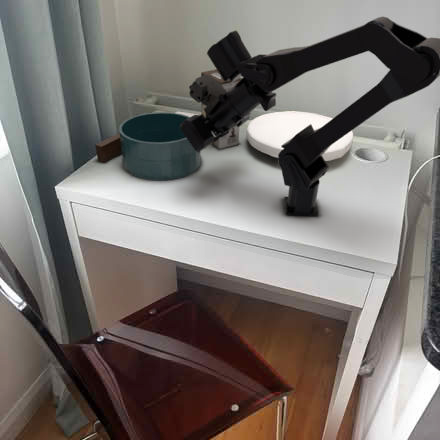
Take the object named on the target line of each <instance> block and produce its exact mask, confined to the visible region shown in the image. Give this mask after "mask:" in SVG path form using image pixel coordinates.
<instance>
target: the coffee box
mask: <svg viewBox="0 0 440 440" xmlns="http://www.w3.org/2000/svg"><path fill="white" fill-rule="evenodd" d="M206 74H207V75H210V76H211V77H212V78H214V79H215V80H216V81H217V82H218V83H219V84H221V85H222V86H223V88H224V89H225V90H226V91H228V90H230V89H231V88H232V87H234V86H235V85H236V84H237V83H238V82H239V81H240V80H241V79H242V78H243V77H240V78H239V79H237V80H236V81H234V82H231V81H230V79H229V80H228V81H226V82H225V81H224V80H223V79H222V77H221V75H220V74H219V72H218V71H217V69H216V68H215V69H211V70H206V71H201V73H200V77H201V76H203V75H206ZM200 103H201V102H200ZM205 107H207V106H205V105H204V104H202V103H201V108H200V109H201V111H200V112H201V113H200V115H201V114H203V116H204V117H206V112H205V111H204V108H205ZM237 124H238V123H237ZM239 142H240V126H239V127H237V126H235V127H234V128H232V129H231V130H229V133H228V134H226V135H225V136H223V137H221V138H219V139H218V140H217V141H215V142H214V143H212V144H211V145H212V146H214V147H216V148H217V149H218V150H221V149H225V148H226V149H227V148H229V147H232V146H238V145H239Z"/></svg>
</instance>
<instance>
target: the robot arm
mask: <svg viewBox="0 0 440 440" xmlns="http://www.w3.org/2000/svg"><path fill="white" fill-rule="evenodd" d="M366 52H369V53H371V54H372V55H374V56H375V57H376V58H377V59H378V60H379V61H380V62H381V63H382V64H383V65H384V66H385V67H386V68H387V69H388V71H387V73H386V74H385V75H384V76H383V78H382V79H381V80H380V81H379V82H378V83H377V84H376V85H375V86H373V87H372V88H371V89H370V90H368V91H366V93H364V94H363V95H362V96H361V97H359V98H358V99H357V100H355V101H354V102H352V103H351V104H350V105H349V106H347V107H346V108H345V109H344V110H342V111H341V112H339V113H338V114H337V115H335V117H332V118H333V119H332V120H330V121H329V122H328V123H326V124H325V125H324V126H323V127H321V128H319V129H316V130H314V129H313V127H312V125H311V124H310V125H309V126H307V127H306V128H304V129H303V130H302V131H300V132H299V133H297V134H296V135H295V136H294V137H293V138H292V139H290V140H289V141H287V142H286V143H284V144H283V145H282V146H281V147H282V148H284V149H283V150H281V152H280V153H279V155H278V158H277V162H278V166H279V168H280V170H281V174H282V180H283V184H284V186H287V187H288V193H287V196H284V198H283V201H284V203H283V204H284V212H285V214H286V215H287V216H310V217H311V216H312V217H317V216H319V208H318V204H317V198H318V192H319V187H320V179H322V177H324V176H325V175H326V173H327V172H328V171H329V168H330V166H329V164H328V163H327V161H325V160H324V158H323V157H322V155H323V154H324V153H325V151H326V150H327V149H328V148H329V147H330V146H331V145H332V144H333V143H335V142H336V141H338V140H339V139H340V138H342V137H343V136H345V135H346V134H348V133H349V132H350V131H352V132H353V131H354V130H355V129H356V128H357V127H359V126H360V125H362V124H364V122H366V121H367V120H369V119H371V117H374V115H376V114H377V113H379V112H380V111H381V110H383V109H384V108H386V107H387V106H389V105H391V104H392V103H394V102H397V101H399V100H402V99H404V98H407V97H409V96H411V95H413V94H415V93H417V92H419V91H421V90H424V89H426V88H427V87H429V86H431V84H433V83H434V82H435V81H436V80H437V79H438V78H440V37H439V38H438V37H429V38H428V37H426V36H425V35H423V34H422V33H419V32H418V31H415V30H413V29H410V28H407V27H405V26H402V25H400V24H398V23H396V22H395V21H393V20H391V19H390V18H389V17H386V16H378V17H376V18H373V19H372V20H370V21H368V22H366V23H364V24H361V25H360V26H357V27H355V28H351V29H349V30H347V31H345V32H342V33H339V34H336V35H334V36H331V37H329V38H327V39H323V40H321V41H318V42H316V43H313V44H311V45H307V46H297V47H288V48H283V49H278V50H275V51H273V52H271V53H268V54H257V55H255V56H252V55H251V54H250V52H249V50H248V48H247V46H246V45H245V43H244V42H243V40H242V37H241V35H240V33H239V32H238V30H233V31H230V32H228V34H227V35H226V36H224V37H223V38H221V39H220V40H218V41H217V42H216V43H213V44H212V45H211V46H210V47H209V49H208V50H207V51H206V55H207V56H208V58H209V59H210V62H211V63H212V64H213V66H214V67H215V70H216V69H217V71H218V72H219V74H220V75H221V77H222V79H223V80H224V81H225V82H226V81H228V80H229V79H230V81H231V82H234V81H236V80H237V79H239V78H242V79H241V80H240V81H239V82H238V83H237V84H236V85H235V86H234V87H232V88H231V89H230V90H228V91H226V90H225V89H224V88H223V86H222V85H221V84H219V83H218V82H217V81H216V80H215V79H214V78H212V77H211V76H210V75H207V74H206V75H203V76H201V75H200V76H199V77H196V78H195V80H194V81H192V84H190V85H189V87H188V89H189V92H188V93H189V96H190V97H191V98H192V99H193V100H194V101H195V102H197V103H202V104H204V105H205V106H207V107H205V108H204V111H205V112H206V117H204V116H203V114H201V113H200V114H199V115H193V116H192V117H190V118H188V119H186V120H185V121H184V122H183V123H181V124H180V129H181V131H182V132H183V133H184V135H185V136H186V138H187V139H188V141H189V142H190V144H191V145H192V147H193V148H194V150H195V151H197V152H200V153H201V151H203V150H205V149H206V148H208V147H209V146H210V145H213V144H212V143H214V142H215V141H217V140H218V139H219V138H221V137H223V136H225V135H226V134H228V133H229V130H231V129H232V128H234V127H235V126H237V127H239V128H240V127H241V126H243V125H244V124H246V123H247V122H248V121H249V120H250V115H251V113H252V112H253V111H255V109H257V108H258V107H259V106H261V107H262V109H263V111H264V112H268V111H269V110H271V109H273V108H275V107H276V106H277V101H276V100H277V99H276V97H277V93H276V92H274V91H277V90H279V88H281V87H284V86H285V85H287V84H289V83H291V82H293V81H294V80H296V79H298V78H300V77H302V76H303V75H305V74H307V73H308V72H311V71H313V70H314V71H315V70H317V69H319V68H323V67H326V66H329V65H332V64H335V63H338V62H340V61H343V60H346V59H349V58H352V57H356V56H357V55H358V56H359V55H361V54H363V53H366ZM237 123H238V124H237Z"/></svg>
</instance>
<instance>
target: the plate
mask: <svg viewBox="0 0 440 440" xmlns="http://www.w3.org/2000/svg"><path fill="white" fill-rule="evenodd" d="M333 118H334V117H329V116H326V115H322V114H319V113H313V112H306V111H298V110H297V111H292V110H289V111H275V112H270V113H264V114H262V115H259V116H257V117H255V118H253V119H252V120H250V122H249V123H248V125H247V128H246V132H245V133H246V134H245V135H246V139H247V142H248V143H249V144H250V146H252V147H253V148H254V149H256V150H257V151H260V152H261V153H263V154H266V155H268V156H270V157H273V158H277V159H278V155H279V153H280V152H281V150H283V149H284V148H282V147H281V146H282V145H283V144H284V143H286V142H287V141H289V140H290V139H292V138H293V137H294V136H295V135H296V134H297V133H299V132H300V131H302V130H303V129H304V128H306V127H307V126H309V125H310V124H311V125H312V127H313V129H314V130H316V129H319V128H321V127H323V126H324V125H325V124H326V123H328V122H329V121H330V120H332V119H333ZM353 141H354V132H353V130H352V131H350V132H349V133H348V134H346V135H345V136H343V137H342V138H340V139H339V140H338V141H336V142H335V143H333V144H332V145H331V146H330V147H329V148H328V149H327V150H326V151H325V153H324V154H323V155H322V157H323V158H324V160H325V161H326V162H330V161H333V160H337V159H340V158H342V157H343V156H344V155H346V153H347V152H348V151H349V150H350V148H351V147H352V146H353Z"/></svg>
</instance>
